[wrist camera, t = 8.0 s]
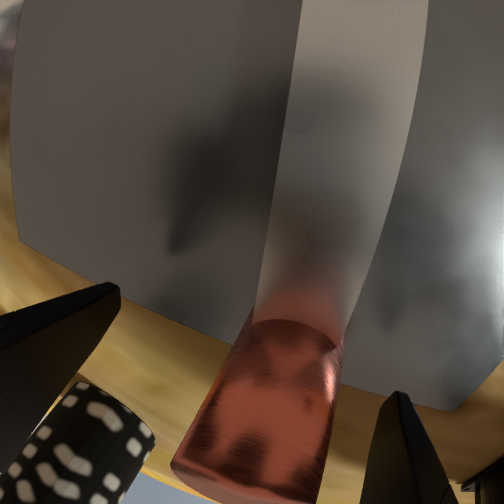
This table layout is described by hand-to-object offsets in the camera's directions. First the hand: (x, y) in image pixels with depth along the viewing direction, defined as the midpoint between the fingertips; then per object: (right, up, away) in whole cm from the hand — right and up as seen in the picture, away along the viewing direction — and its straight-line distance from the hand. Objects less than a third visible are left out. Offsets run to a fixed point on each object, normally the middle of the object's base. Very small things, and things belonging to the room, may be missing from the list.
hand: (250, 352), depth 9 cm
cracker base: (+1, +9, -2) cm, 10 cm away
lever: (+2, +7, -3) cm, 8 cm away
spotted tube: (-11, -11, +13) cm, 20 cm away
